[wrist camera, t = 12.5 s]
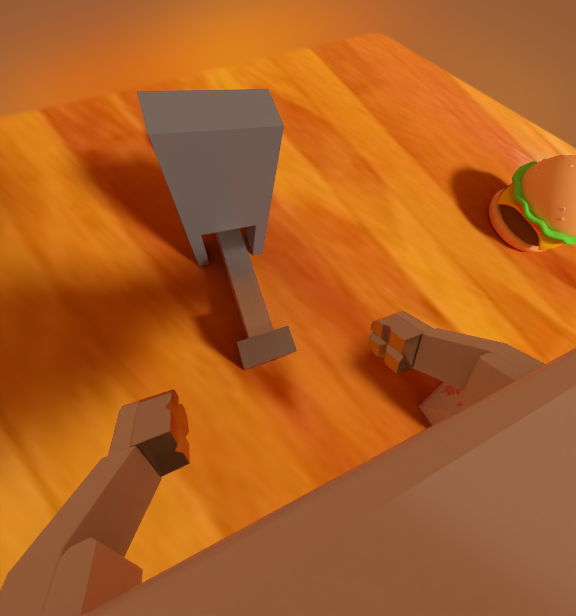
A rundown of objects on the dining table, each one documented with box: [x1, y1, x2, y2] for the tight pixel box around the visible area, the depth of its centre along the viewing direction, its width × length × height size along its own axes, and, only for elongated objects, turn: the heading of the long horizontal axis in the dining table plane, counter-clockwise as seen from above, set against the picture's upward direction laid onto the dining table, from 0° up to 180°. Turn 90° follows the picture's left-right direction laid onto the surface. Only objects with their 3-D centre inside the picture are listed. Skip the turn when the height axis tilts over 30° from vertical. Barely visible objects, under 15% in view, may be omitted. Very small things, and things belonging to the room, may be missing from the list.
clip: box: [137, 89, 284, 267], centre depth 17 cm, size 6×3×13 cm, turn 109°
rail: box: [215, 228, 297, 370], centre depth 21 cm, size 24×4×4 cm, turn 19°
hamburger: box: [489, 155, 576, 252], centre depth 29 cm, size 12×12×9 cm
